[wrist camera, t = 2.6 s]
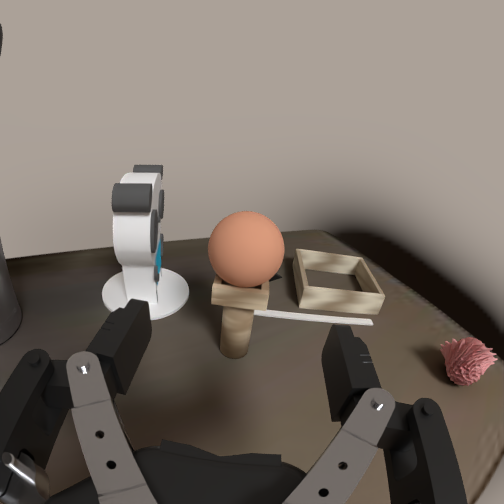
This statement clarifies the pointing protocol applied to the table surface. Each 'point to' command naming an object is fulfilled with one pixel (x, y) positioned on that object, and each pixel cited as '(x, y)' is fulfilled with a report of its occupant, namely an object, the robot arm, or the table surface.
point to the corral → (336, 298)
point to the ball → (246, 249)
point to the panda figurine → (142, 246)
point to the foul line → (313, 317)
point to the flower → (466, 360)
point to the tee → (237, 314)
